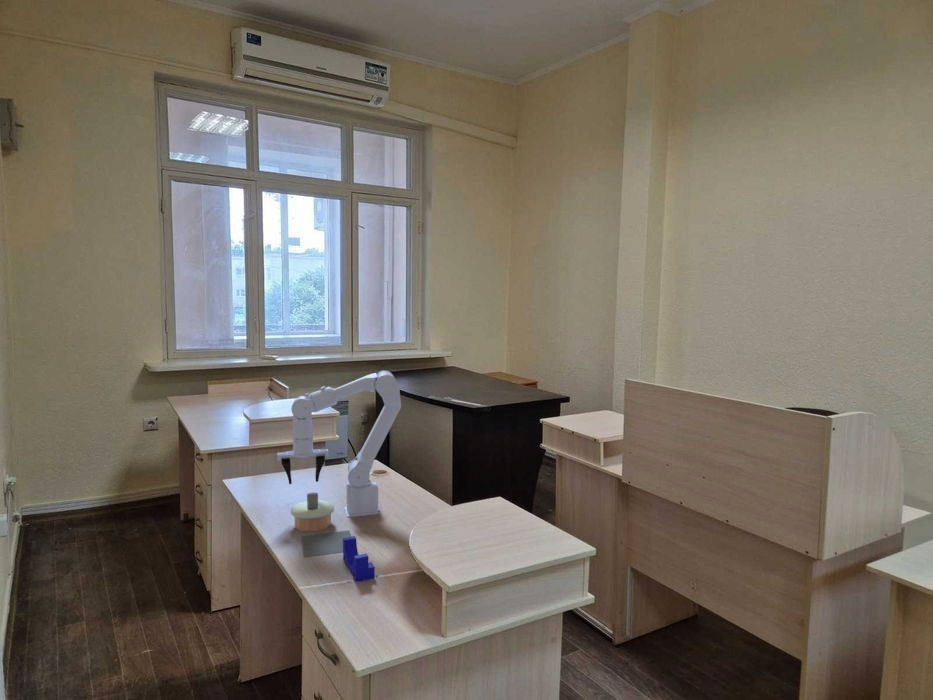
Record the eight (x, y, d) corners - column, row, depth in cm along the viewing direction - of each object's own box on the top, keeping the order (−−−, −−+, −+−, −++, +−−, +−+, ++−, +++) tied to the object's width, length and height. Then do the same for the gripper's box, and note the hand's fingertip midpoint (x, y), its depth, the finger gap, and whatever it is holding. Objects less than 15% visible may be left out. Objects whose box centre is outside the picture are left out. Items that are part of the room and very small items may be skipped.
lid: (331, 500, 174) (331, 485, 174) (336, 516, 163) (336, 499, 162) (289, 505, 170) (289, 489, 170) (292, 521, 159) (291, 504, 158)
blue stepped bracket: (374, 578, 138) (374, 554, 137) (356, 583, 136) (355, 558, 135) (360, 557, 149) (360, 535, 148) (343, 560, 147) (342, 538, 146)
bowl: (329, 516, 174) (328, 502, 173) (332, 529, 164) (332, 514, 164) (294, 520, 171) (293, 505, 170) (295, 534, 161) (295, 518, 161)
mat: (349, 531, 163) (349, 530, 163) (355, 551, 151) (355, 550, 151) (301, 537, 159) (301, 535, 159) (304, 558, 147) (304, 557, 147)
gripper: (277, 442, 166) (278, 488, 167) (329, 439, 170) (329, 483, 172) (277, 436, 172) (278, 480, 174) (327, 433, 177) (327, 476, 178)
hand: (303, 481), depth 173 cm, fingers open, 7 cm apart
